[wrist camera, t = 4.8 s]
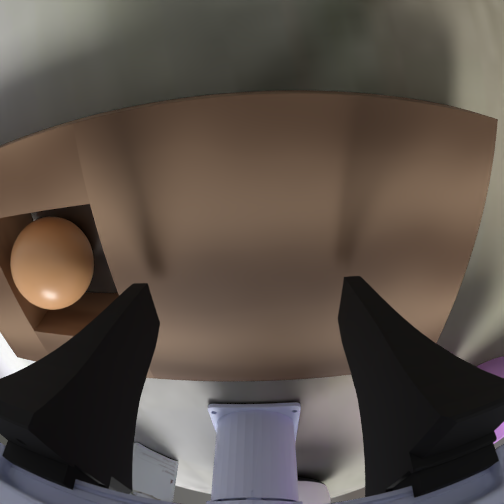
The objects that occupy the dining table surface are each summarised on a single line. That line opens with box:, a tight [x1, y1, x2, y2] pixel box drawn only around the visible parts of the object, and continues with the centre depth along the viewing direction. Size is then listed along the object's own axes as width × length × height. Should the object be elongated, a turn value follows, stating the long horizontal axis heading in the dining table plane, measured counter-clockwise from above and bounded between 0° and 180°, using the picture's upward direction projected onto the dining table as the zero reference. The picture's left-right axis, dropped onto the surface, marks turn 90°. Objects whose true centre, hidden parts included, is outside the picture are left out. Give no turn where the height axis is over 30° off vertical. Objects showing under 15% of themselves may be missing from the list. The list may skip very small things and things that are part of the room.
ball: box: [10, 217, 94, 310], centre depth 14 cm, size 5×5×5 cm
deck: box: [0, 90, 498, 381], centre depth 14 cm, size 14×28×4 cm, turn 93°
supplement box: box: [130, 443, 178, 502], centre depth 28 cm, size 7×7×13 cm
